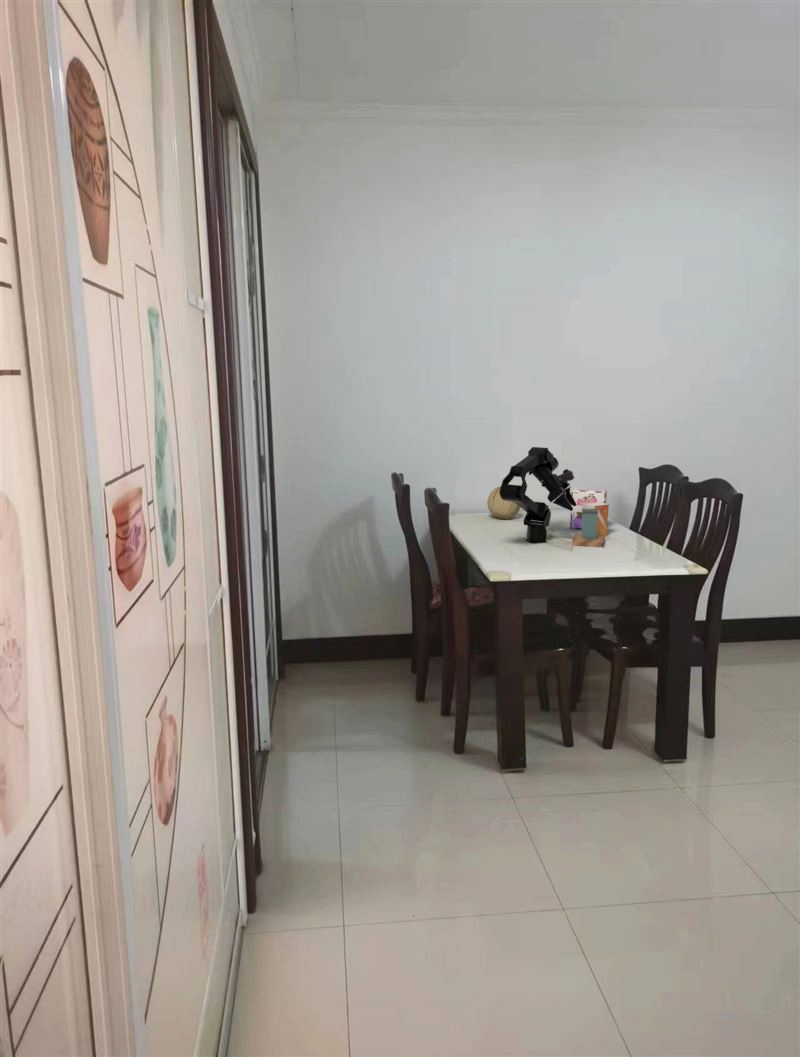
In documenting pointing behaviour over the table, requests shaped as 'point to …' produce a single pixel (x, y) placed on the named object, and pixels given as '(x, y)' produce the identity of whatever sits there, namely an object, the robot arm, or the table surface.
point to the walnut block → (588, 541)
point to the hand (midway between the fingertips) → (574, 507)
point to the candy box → (582, 498)
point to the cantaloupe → (501, 506)
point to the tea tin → (589, 523)
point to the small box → (600, 516)
